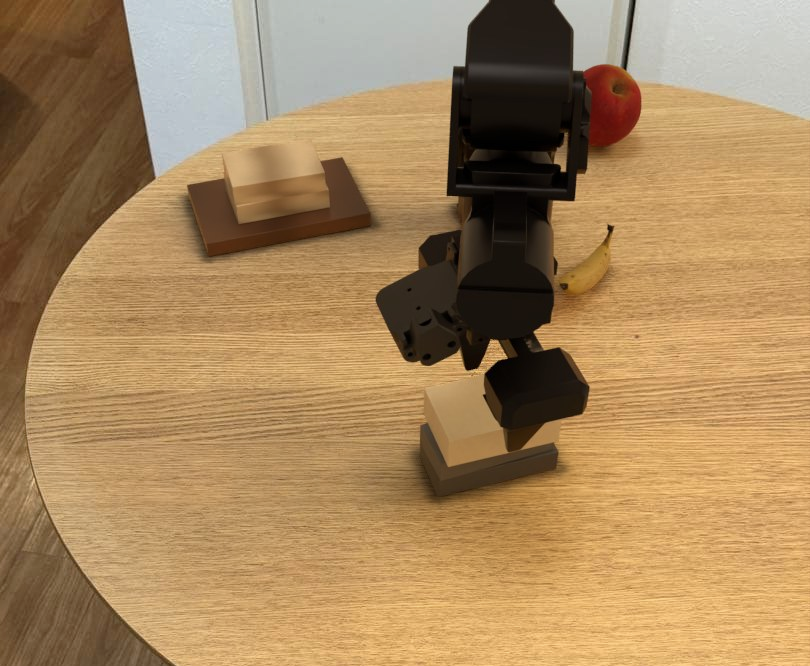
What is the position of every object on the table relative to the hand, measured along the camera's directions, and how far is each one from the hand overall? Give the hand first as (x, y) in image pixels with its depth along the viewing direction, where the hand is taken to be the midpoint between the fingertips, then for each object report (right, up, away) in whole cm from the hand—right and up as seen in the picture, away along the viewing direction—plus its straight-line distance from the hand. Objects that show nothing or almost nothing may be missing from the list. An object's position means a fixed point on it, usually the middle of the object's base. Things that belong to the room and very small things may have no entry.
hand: (491, 407), depth 88 cm
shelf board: (-19, +22, +26) cm, 39 cm away
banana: (+10, +13, +19) cm, 25 cm away
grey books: (0, -4, +5) cm, 6 cm away
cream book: (0, -1, +2) cm, 2 cm away
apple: (+14, +32, +34) cm, 49 cm away
